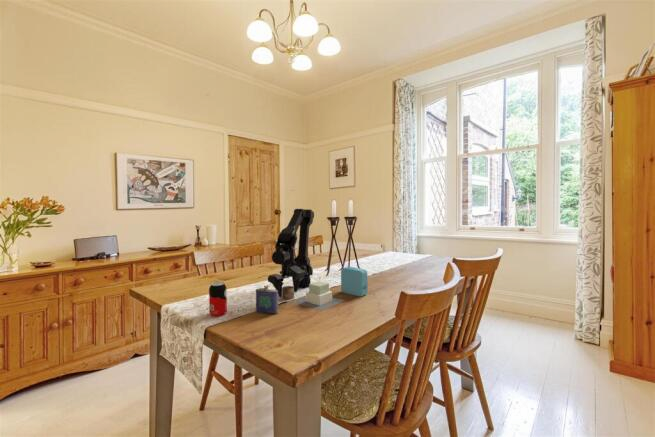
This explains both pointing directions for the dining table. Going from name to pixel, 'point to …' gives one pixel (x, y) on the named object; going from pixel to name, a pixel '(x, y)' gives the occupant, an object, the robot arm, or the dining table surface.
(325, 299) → the tower base
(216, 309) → the beverage can
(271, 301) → the flask
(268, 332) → the dining table surface
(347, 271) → the data package
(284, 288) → the brown small cylinder
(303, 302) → the slate mat
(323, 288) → the tower top
